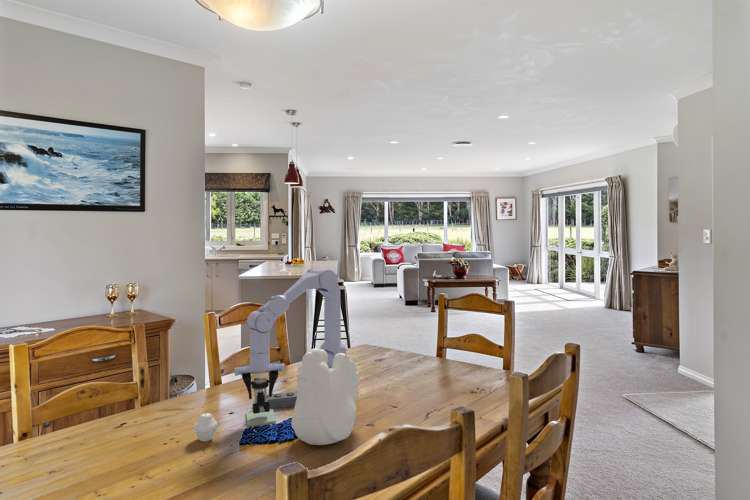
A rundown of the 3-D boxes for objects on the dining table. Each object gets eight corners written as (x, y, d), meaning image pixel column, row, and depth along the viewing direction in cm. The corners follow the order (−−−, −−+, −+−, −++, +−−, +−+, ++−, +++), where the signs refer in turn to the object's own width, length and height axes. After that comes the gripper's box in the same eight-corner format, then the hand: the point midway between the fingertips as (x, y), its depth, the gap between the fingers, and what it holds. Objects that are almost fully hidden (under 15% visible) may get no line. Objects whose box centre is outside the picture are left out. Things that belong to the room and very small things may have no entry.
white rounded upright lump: (316, 461, 112) (315, 358, 111) (278, 441, 123) (277, 348, 122) (386, 430, 130) (385, 341, 129) (347, 415, 141) (347, 333, 140)
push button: (248, 416, 135) (247, 382, 135) (246, 411, 140) (245, 378, 140) (271, 413, 137) (270, 379, 137) (268, 407, 142) (267, 374, 142)
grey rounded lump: (195, 445, 121) (194, 419, 121) (192, 437, 126) (192, 411, 126) (219, 440, 124) (219, 414, 123) (216, 432, 129) (215, 407, 129)
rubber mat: (272, 410, 145) (272, 408, 145) (276, 422, 135) (276, 420, 135) (246, 413, 143) (246, 412, 143) (247, 426, 133) (247, 424, 133)
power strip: (313, 398, 156) (312, 387, 156) (315, 403, 151) (315, 392, 151) (257, 404, 150) (257, 393, 150) (259, 410, 146) (258, 398, 146)
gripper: (282, 346, 145) (283, 390, 145) (234, 350, 140) (234, 395, 140) (285, 352, 138) (286, 397, 138) (234, 356, 133) (235, 403, 134)
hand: (260, 397), depth 139 cm, fingers closed on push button, 5 cm apart
